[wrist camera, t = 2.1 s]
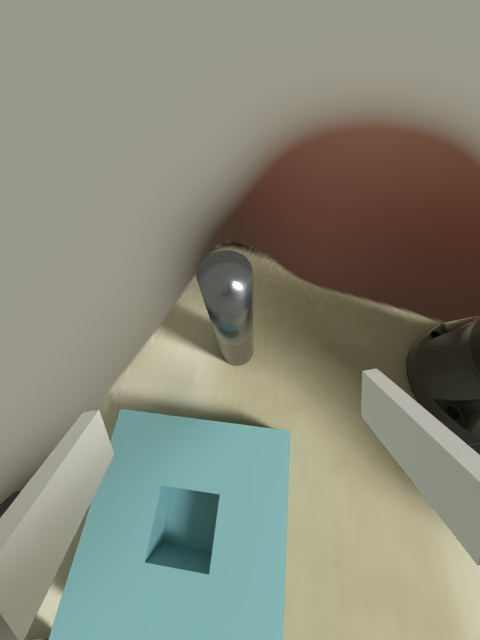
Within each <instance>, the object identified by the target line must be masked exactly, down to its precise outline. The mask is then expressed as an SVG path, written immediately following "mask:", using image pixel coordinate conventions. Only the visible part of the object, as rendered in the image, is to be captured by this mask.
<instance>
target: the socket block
mask: <svg viewBox="0 0 480 640" xmlns="http://www.w3.org/2000/svg"><path fill="white" fill-rule="evenodd" d="M110 443H111V445H112V448H113V451H114V456H113V458H112V460H111V462H110V464H109V466H108V468H107V470H106V472H105V475H104V477H103V479H102V481H101V483H100V485H99V487H98V489H97V491H96V493H95V495H94V497H93V499H92V501H91V505H90V508H89V511H88V514H87V517H86V521H85V524H84V527H83V530H82V533H81V537H80V540H79V543H78V546H77V549H76V553H75V556H74V559H73V562H72V565H71V569H70V572H69V575H68V578H67V582H66V585H65V588H64V591H63V594H62V598H61V601H60V604H59V607H58V610H57V614H56V617H55V620H54V623H53V626H52V630H51V633H50V636H49V639H48V640H283V619H284V591H285V564H286V536H287V508H288V481H289V453H290V431H288V430H280V429H272V428H264V427H257V426H249V425H241V424H234V423H226V422H218V421H211V420H203V419H195V418H187V417H180V416H172V415H164V414H157V413H149V412H141V411H134V410H126V409H120V412H119V415H118V418H117V421H116V424H115V428H114V431H113V434H112V437H111V440H110Z"/></svg>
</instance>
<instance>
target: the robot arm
mask: <svg viewBox="0 0 480 640" xmlns="http://www.w3.org/2000/svg"><path fill="white" fill-rule="evenodd" d="M407 373H408V378H409V382H410V385H411V388H412V390H413V393H414V394H415V396H416V398H417V400H418V402H419V403H420V404H421V405H420V404H419V403H417V402H416V401H415V400H414V399H413V398H411V397H410V396H409V395H408V394H407V393H406V392H404V391H403V390H402V389H401V388H400V387H398V386H397V385H396V384H395V383H394V382H392V381H391V380H390V379H389V378H388V377H387V376H385V375H384V374H383V373H382V372H381V371H379V370H378V369H371V370H364V371H362V397H361V417H362V418H363V419H364V421H365V422H366V423H367V425H368V426H369V427H370V428H371V430H372V431H373V432H374V433H375V435H376V436H377V437H378V439H379V440H380V441H381V442H382V444H383V445H384V446H385V448H386V449H387V450H388V451H389V453H390V454H391V455H392V456H393V458H394V459H395V460H396V462H397V463H398V464H399V465H400V467H401V468H402V469H403V471H404V472H405V473H406V474H407V476H408V477H409V478H410V479H411V481H412V482H413V483H414V485H415V486H416V487H417V488H418V490H419V491H420V492H421V493H422V495H423V496H424V497H425V499H426V500H427V501H428V502H429V504H430V505H431V506H432V508H433V509H434V510H435V511H436V513H437V514H438V515H439V516H440V518H441V519H442V520H443V522H444V523H445V524H446V525H447V527H448V528H449V529H450V531H451V532H452V533H453V534H454V536H455V537H456V538H457V539H458V541H459V542H460V543H461V545H462V546H463V547H464V548H465V550H466V551H467V552H468V554H469V555H470V556H471V557H472V559H473V560H474V561H475V562H476V564H477V565H480V316H477V317H472V318H466V319H461V320H456V321H451V322H446V323H443V324H440V325H438V326H436V327H434V328H432V329H431V330H429V331H428V332H426V333H425V334H423V335H422V336H420V337H419V338H418V339H417V340H416V341H415V343H414V344H413V346H412V347H411V349H410V352H409V355H408V360H407ZM113 456H114V451H113V448H112V445H111V443H110V440H109V437H108V434H107V431H106V428H105V425H104V422H103V420H102V417H101V414H100V411H99V410H94V411H87V412H83V413H82V414H81V415H80V417H79V418H78V419H77V421H76V422H75V423H74V425H73V426H72V427H71V428H70V430H69V431H68V432H67V433H66V435H65V436H64V438H63V439H62V440H61V441H60V442H59V444H58V445H57V446H56V448H55V449H54V450H53V451H52V453H51V454H50V455H49V456H48V458H47V459H46V461H45V462H44V463H43V464H42V466H41V467H40V468H39V469H38V470H37V472H36V473H35V474H34V476H33V477H32V478H31V479H30V481H29V482H28V483H27V485H26V486H25V487H24V489H23V490H22V491H17V492H14V493H13V494H12V495H11V496H10V497H8V498H7V499H6V500H5V501H4V502H3V503H1V504H0V640H24V639H25V637H26V635H27V633H28V631H29V629H30V627H31V625H32V623H33V621H34V618H35V616H36V614H37V612H38V610H39V608H40V606H41V604H42V602H43V600H44V598H45V596H46V594H47V592H48V590H49V588H50V586H51V584H52V581H53V579H54V577H55V575H56V573H57V571H58V569H59V567H60V565H61V563H62V561H63V559H64V557H65V555H66V553H67V551H68V549H69V546H70V544H71V542H72V540H73V538H74V536H75V534H76V532H77V530H78V528H79V526H80V524H81V522H82V520H83V518H84V516H85V514H86V512H87V509H88V507H89V505H90V503H91V501H92V499H93V497H94V495H95V493H96V491H97V489H98V487H99V485H100V483H101V481H102V479H103V477H104V475H105V472H106V470H107V468H108V466H109V464H110V462H111V460H112V458H113Z"/></svg>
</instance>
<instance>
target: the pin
mask: <svg viewBox="0 0 480 640" xmlns="http://www.w3.org/2000/svg"><path fill="white" fill-rule="evenodd" d="M196 277H197V281H198V284H199V287H200V290H201V293H202V296H203V299H204V302H205V305H206V308H207V311H208V314H209V317H210V320H211V323H212V326H213V329H214V332H215V335H216V338H217V341H218V344H219V347H220V350H221V353H222V356H223V358H224V359H225V361H226V362H228V363H229V364H231V365H237V366H238V365H243V364H245V363H246V362H248V361H249V360H250V358H251V357H252V354H253V295H252V267H251V264H250V262H249V261H248V259H247V258H246V257H245V256H243V255H242V254H240V253H238V252H235V251H229V250H223V251H217V252H214V253H212V254H210V255H208V256H207V257H205V258H204V259H203V260H202V261H201V262H200V264H199V266H198V268H197V272H196Z"/></svg>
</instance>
